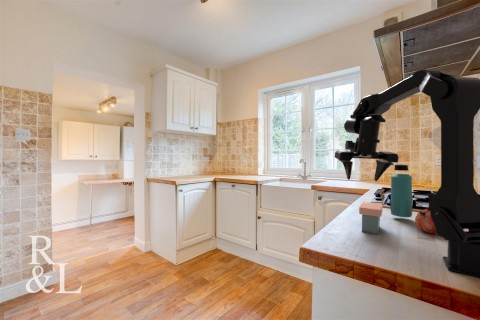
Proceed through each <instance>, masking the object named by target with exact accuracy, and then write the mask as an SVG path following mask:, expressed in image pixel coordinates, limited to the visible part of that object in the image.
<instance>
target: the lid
mask: <svg viewBox="0 0 480 320" xmlns="http://www.w3.org/2000/svg"><path fill="white" fill-rule="evenodd" d="M383 206H384V204H383V203H377V202H370V201H362V203H361V204H360V206H359V207H358V208H359V213H358V214H359V215H362V214H363V215H371V216H378V217H380V218H381V217H382V215H383V208H384V207H383Z"/></svg>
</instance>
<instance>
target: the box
mask: <svg viewBox="0 0 480 320" xmlns="http://www.w3.org/2000/svg"><path fill="white" fill-rule="evenodd" d="M380 221H381V217H378V216H371V215H363V214H361V233H366V234H372V235H377V236H378V235H379V232H380V228H381V226H380V225H381V224H380V223H381V222H380Z"/></svg>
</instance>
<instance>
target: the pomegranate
mask: <svg viewBox="0 0 480 320" xmlns="http://www.w3.org/2000/svg"><path fill="white" fill-rule="evenodd" d="M427 209H428V208H425V209H423V210H419V211H418V212H417V214H416V215H415V218H414V221H415V225H416V226H417V228H419V230H422V232H426V233H428V234H431V235H438V234H437V231H436V228H435V225H434V222H433V220H432V218H431V215H430V211H428V210H427Z"/></svg>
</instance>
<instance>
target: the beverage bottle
mask: <svg viewBox="0 0 480 320" xmlns="http://www.w3.org/2000/svg"><path fill="white" fill-rule="evenodd" d="M394 171H398V172H399V171H400V172H401V171H405V172H408V171H409V165H408V164H401V163H400V164H395V165H394ZM412 185H413V176H412V175H410V174H409V173H393V174H391V176H390V202H389V203H390V209H389V210H390V214H391V215H392V216H393V217H394V216H395V217H400V218H412V216H413V186H412Z"/></svg>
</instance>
